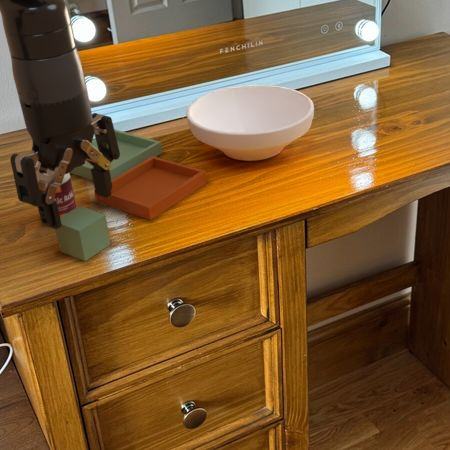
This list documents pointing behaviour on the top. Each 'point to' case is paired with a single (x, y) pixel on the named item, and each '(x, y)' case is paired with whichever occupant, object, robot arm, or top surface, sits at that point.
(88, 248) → the sage block
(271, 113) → the bowl
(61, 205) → the pill bottle
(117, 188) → the reddish-brown tray
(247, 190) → the top surface
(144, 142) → the sage tray
